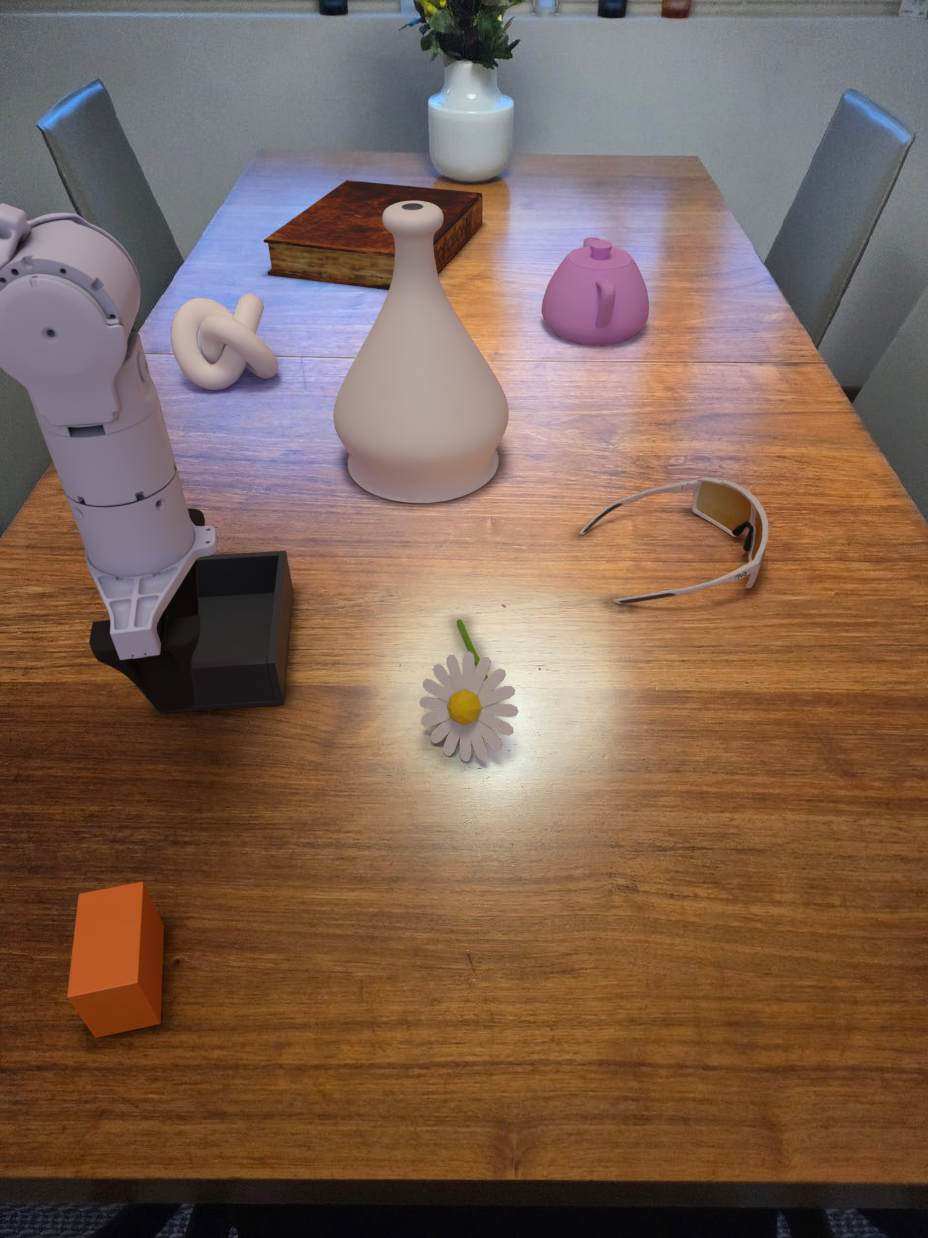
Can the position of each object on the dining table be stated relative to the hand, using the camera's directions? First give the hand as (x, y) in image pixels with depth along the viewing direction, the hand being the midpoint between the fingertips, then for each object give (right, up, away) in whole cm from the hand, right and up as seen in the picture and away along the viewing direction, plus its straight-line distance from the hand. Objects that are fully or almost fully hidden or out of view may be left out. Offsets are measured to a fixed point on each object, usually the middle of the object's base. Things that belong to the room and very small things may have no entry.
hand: (179, 660), depth 55 cm
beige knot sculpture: (-9, +31, +50) cm, 60 cm away
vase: (+14, +19, +36) cm, 43 cm away
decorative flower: (+17, -3, +12) cm, 21 cm away
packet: (-1, -18, -5) cm, 19 cm away
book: (+5, +60, +82) cm, 102 cm away
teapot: (+35, +41, +61) cm, 82 cm away
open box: (-1, 0, +16) cm, 16 cm away
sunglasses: (+37, +8, +24) cm, 45 cm away
